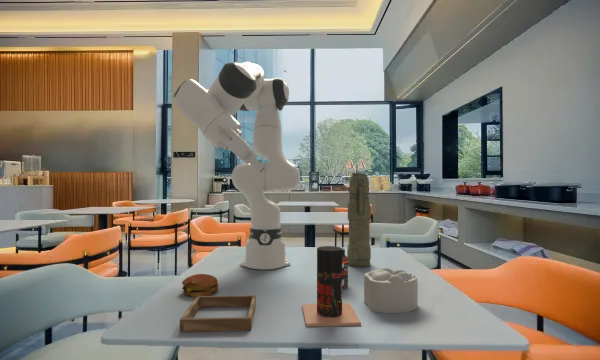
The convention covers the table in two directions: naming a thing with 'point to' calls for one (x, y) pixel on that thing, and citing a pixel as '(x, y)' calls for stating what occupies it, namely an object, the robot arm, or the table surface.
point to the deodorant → (329, 281)
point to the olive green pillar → (359, 221)
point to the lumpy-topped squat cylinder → (390, 291)
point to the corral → (218, 323)
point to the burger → (200, 285)
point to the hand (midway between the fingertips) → (262, 170)
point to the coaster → (343, 320)
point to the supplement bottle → (344, 269)
